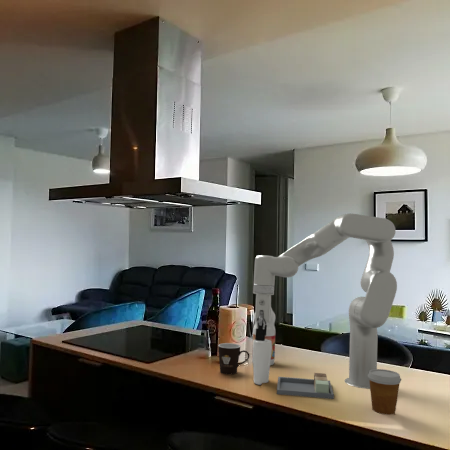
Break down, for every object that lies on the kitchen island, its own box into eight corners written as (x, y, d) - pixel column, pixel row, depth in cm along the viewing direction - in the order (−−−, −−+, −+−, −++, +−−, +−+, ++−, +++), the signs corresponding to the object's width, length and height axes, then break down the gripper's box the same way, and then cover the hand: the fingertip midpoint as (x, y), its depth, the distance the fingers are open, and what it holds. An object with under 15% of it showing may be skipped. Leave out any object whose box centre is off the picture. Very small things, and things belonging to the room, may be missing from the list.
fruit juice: (248, 361, 189) (250, 294, 190) (267, 359, 193) (269, 294, 194) (258, 366, 180) (260, 297, 182) (278, 365, 184) (280, 297, 185)
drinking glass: (258, 379, 163) (260, 337, 164) (274, 383, 159) (275, 340, 160) (247, 383, 158) (249, 340, 159) (263, 387, 154) (264, 343, 155)
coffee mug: (212, 371, 171) (213, 345, 172) (227, 367, 177) (228, 342, 178) (235, 378, 163) (236, 350, 164) (250, 374, 170) (251, 347, 170)
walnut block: (325, 385, 156) (325, 373, 156) (326, 388, 152) (326, 376, 152) (313, 384, 156) (314, 372, 157) (314, 387, 152) (314, 375, 153)
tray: (329, 387, 157) (329, 380, 157) (333, 402, 142) (333, 394, 142) (278, 383, 159) (278, 376, 159) (276, 397, 144) (276, 389, 145)
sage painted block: (327, 393, 147) (327, 381, 147) (328, 397, 143) (328, 384, 143) (315, 392, 148) (315, 380, 148) (315, 396, 144) (316, 383, 144)
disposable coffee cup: (366, 416, 130) (366, 374, 131) (367, 406, 139) (368, 367, 140) (400, 422, 127) (401, 379, 128) (400, 411, 136) (401, 371, 137)
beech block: (326, 389, 151) (326, 377, 152) (327, 392, 147) (327, 380, 148) (314, 388, 152) (314, 376, 152) (315, 391, 148) (315, 379, 148)
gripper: (273, 292, 151) (270, 343, 150) (275, 288, 168) (272, 334, 167) (251, 291, 152) (248, 341, 151) (255, 287, 169) (252, 332, 168)
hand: (260, 337), depth 159 cm, fingers open, 9 cm apart
